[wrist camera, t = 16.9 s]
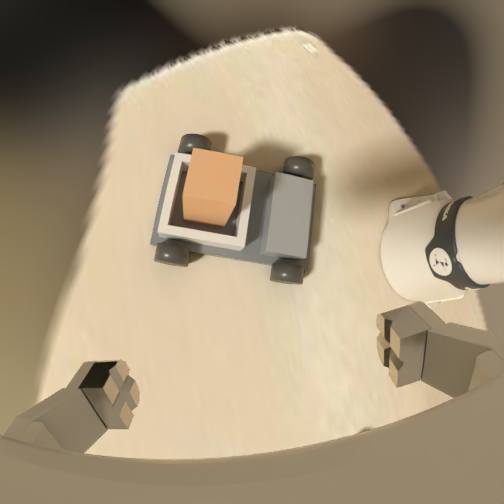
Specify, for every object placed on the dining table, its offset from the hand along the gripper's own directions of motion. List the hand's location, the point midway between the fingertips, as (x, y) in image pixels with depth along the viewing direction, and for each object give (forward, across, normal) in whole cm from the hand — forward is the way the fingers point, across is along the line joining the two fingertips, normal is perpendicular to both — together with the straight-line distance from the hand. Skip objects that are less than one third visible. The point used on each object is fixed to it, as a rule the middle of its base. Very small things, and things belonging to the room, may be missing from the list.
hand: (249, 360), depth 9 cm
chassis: (+32, +2, +1) cm, 32 cm away
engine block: (+31, +5, -1) cm, 31 cm away
